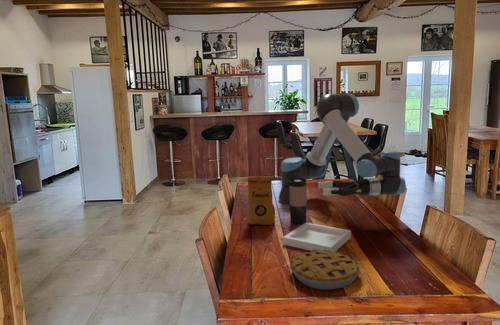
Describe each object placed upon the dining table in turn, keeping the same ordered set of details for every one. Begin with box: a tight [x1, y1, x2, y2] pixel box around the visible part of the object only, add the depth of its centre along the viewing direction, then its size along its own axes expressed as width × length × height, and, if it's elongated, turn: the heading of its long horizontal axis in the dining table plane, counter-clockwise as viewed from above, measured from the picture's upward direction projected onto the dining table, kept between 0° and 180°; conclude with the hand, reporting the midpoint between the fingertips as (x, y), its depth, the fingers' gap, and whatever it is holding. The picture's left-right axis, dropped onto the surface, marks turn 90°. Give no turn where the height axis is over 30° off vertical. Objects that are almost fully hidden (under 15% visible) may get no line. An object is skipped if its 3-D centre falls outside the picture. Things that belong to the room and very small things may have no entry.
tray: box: [282, 221, 352, 252], centre depth 148 cm, size 20×20×3 cm
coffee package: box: [247, 176, 276, 226], centre depth 170 cm, size 10×12×22 cm
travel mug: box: [289, 178, 308, 226], centre depth 169 cm, size 8×8×20 cm
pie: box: [289, 250, 361, 290], centre depth 120 cm, size 22×22×5 cm
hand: (320, 188), depth 167 cm, fingers open, 13 cm apart
